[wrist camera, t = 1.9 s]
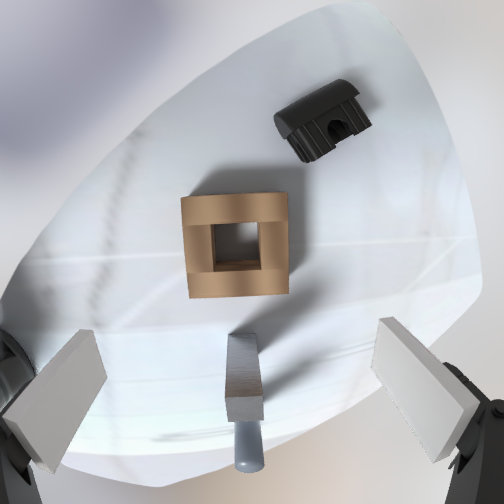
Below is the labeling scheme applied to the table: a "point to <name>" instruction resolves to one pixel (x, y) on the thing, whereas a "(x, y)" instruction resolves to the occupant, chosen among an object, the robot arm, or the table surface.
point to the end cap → (322, 120)
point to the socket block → (236, 271)
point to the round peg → (248, 447)
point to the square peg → (243, 379)
